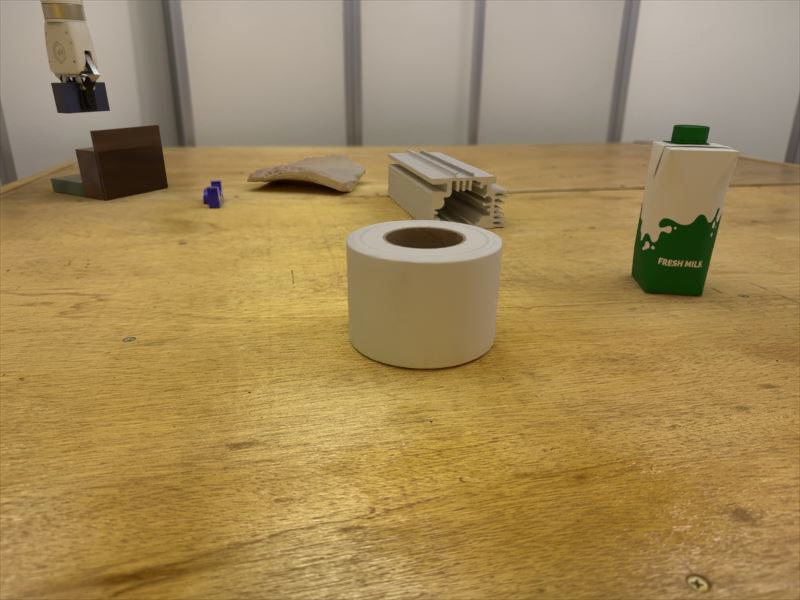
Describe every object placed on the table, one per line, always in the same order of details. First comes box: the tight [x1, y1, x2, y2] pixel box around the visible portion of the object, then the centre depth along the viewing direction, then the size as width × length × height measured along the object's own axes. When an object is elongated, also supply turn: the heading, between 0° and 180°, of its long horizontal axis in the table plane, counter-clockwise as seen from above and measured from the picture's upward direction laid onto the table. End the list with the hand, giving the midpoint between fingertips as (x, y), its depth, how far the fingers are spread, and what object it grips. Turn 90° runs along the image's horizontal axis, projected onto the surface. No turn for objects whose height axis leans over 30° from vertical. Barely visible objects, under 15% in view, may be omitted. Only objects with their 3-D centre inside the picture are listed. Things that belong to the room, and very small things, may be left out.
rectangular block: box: [50, 81, 111, 114], centre depth 119 cm, size 4×10×6 cm, turn 152°
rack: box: [50, 124, 169, 202], centre depth 123 cm, size 18×16×14 cm
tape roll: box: [345, 219, 503, 370], centre depth 57 cm, size 16×15×11 cm
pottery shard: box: [246, 153, 367, 192], centre depth 131 cm, size 24×8×20 cm
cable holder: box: [202, 179, 224, 209], centre depth 113 cm, size 8×4×4 cm, turn 11°
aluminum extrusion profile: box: [387, 148, 509, 230], centre depth 109 cm, size 14×31×10 cm, turn 15°
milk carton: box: [630, 124, 742, 297], centre depth 69 cm, size 9×9×20 cm
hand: (83, 108), depth 120 cm, fingers closed on rectangular block, 3 cm apart
